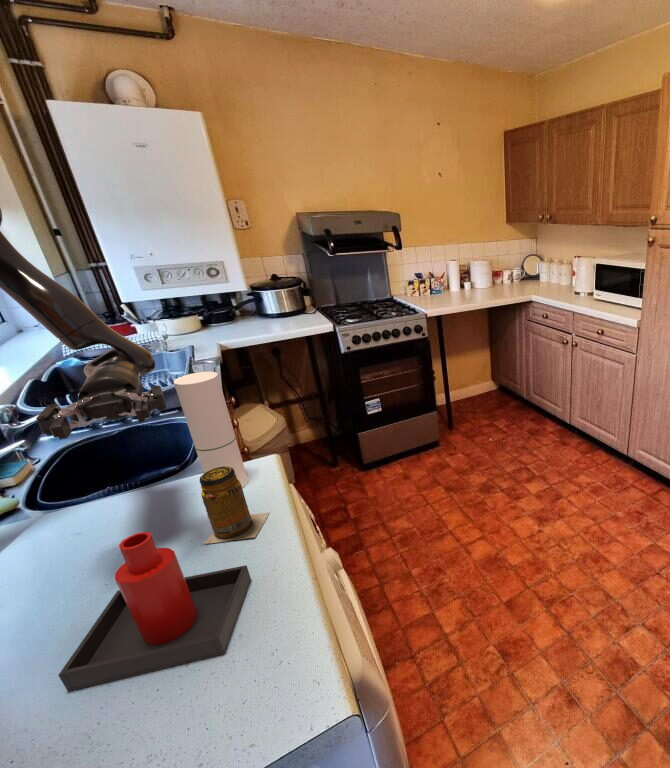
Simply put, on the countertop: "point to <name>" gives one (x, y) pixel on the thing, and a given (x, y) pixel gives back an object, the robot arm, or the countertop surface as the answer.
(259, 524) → the condiment
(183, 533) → the countertop surface
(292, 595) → the countertop surface
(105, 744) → the countertop surface
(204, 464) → the cylindrical container
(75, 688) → the baking tray
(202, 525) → the countertop surface
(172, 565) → the bottle
